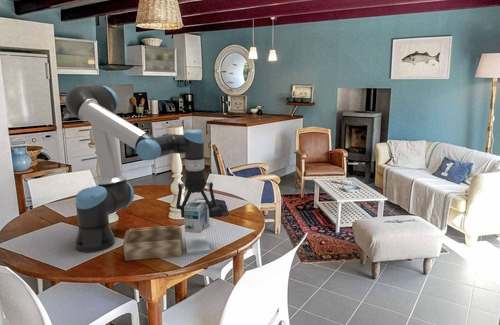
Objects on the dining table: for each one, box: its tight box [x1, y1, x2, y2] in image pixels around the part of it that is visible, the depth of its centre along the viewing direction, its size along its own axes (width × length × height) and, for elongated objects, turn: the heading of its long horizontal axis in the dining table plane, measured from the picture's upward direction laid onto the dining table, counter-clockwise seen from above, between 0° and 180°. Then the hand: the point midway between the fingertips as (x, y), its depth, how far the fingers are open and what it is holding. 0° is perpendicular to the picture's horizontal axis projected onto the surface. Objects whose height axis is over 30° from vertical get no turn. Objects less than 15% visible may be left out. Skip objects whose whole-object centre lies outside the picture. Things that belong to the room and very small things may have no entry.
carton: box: [122, 225, 184, 261], centre depth 154 cm, size 22×16×7 cm
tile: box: [184, 236, 211, 256], centre depth 158 cm, size 9×14×1 cm, turn 12°
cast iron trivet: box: [209, 198, 229, 218], centre depth 204 cm, size 15×22×5 cm
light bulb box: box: [184, 198, 208, 234], centre depth 156 cm, size 11×7×11 cm, turn 169°
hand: (196, 224), depth 157 cm, fingers closed on light bulb box, 8 cm apart
